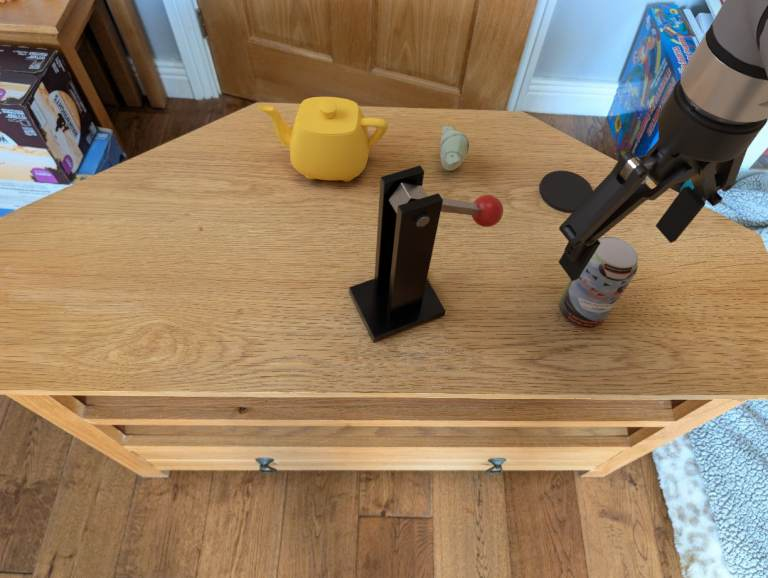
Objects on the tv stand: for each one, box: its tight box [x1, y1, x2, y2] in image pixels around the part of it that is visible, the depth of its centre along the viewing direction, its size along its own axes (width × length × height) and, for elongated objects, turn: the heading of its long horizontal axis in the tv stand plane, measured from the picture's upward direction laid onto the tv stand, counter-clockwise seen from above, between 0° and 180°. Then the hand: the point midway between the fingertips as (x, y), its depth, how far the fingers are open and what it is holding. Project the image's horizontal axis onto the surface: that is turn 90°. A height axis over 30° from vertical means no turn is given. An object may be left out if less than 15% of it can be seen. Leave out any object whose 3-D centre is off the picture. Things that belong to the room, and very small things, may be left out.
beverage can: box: [558, 235, 639, 329], centre depth 68 cm, size 6×7×12 cm
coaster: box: [538, 170, 594, 214], centre depth 84 cm, size 8×8×1 cm
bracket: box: [348, 164, 447, 343], centre depth 63 cm, size 10×8×22 cm
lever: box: [389, 183, 504, 228], centre depth 59 cm, size 15×4×4 cm
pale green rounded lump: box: [439, 125, 470, 171], centre depth 83 cm, size 8×4×7 cm, turn 3°
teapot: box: [257, 96, 389, 182], centre depth 81 cm, size 18×11×11 cm, turn 88°
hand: (617, 251), depth 63 cm, fingers open, 13 cm apart
